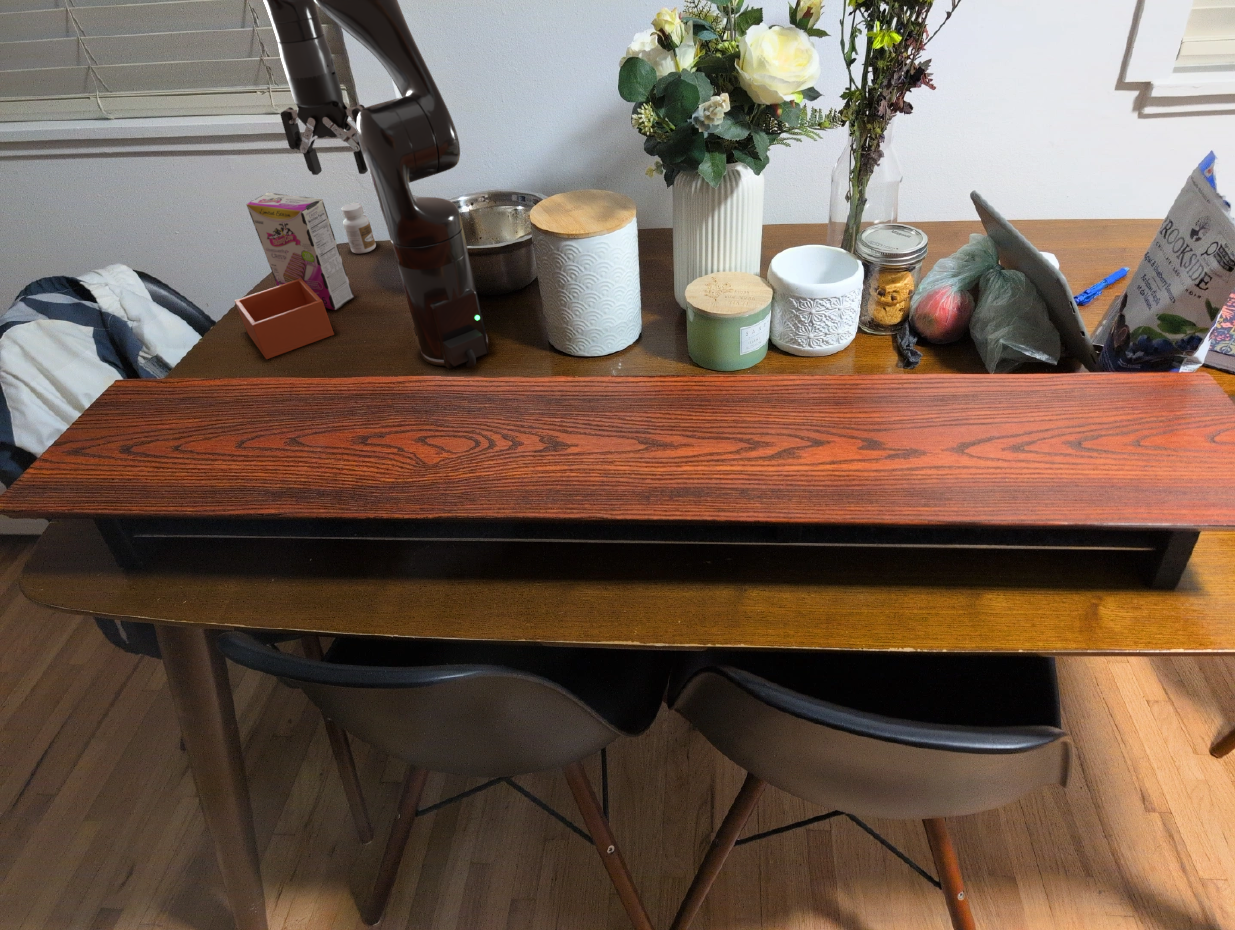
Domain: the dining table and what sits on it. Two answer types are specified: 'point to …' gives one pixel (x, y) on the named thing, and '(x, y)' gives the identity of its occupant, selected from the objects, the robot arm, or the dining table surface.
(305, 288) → the bin
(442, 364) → the robot arm
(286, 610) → the dining table surface
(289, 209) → the candy bar box
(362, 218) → the pill bottle
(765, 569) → the dining table surface
